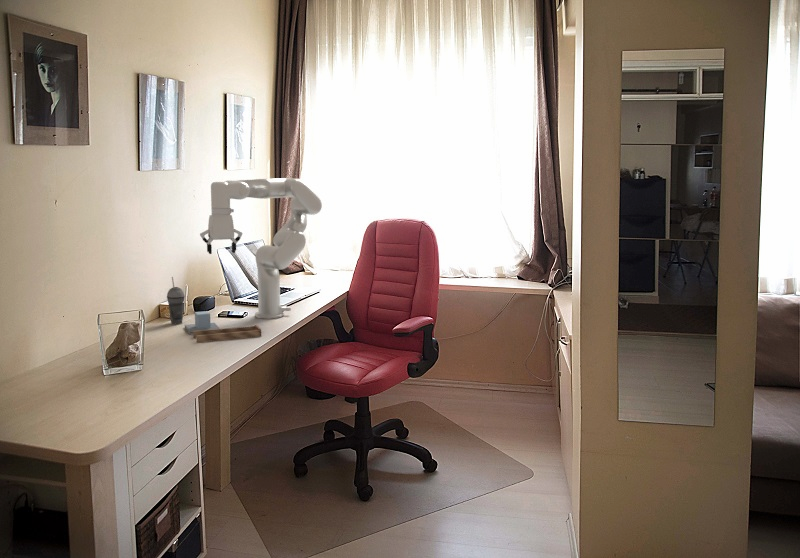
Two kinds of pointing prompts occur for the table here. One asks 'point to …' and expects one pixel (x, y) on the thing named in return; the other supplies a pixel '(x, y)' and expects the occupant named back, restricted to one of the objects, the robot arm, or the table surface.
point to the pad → (192, 328)
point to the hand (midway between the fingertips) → (221, 253)
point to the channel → (227, 333)
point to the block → (202, 320)
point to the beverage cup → (175, 304)
